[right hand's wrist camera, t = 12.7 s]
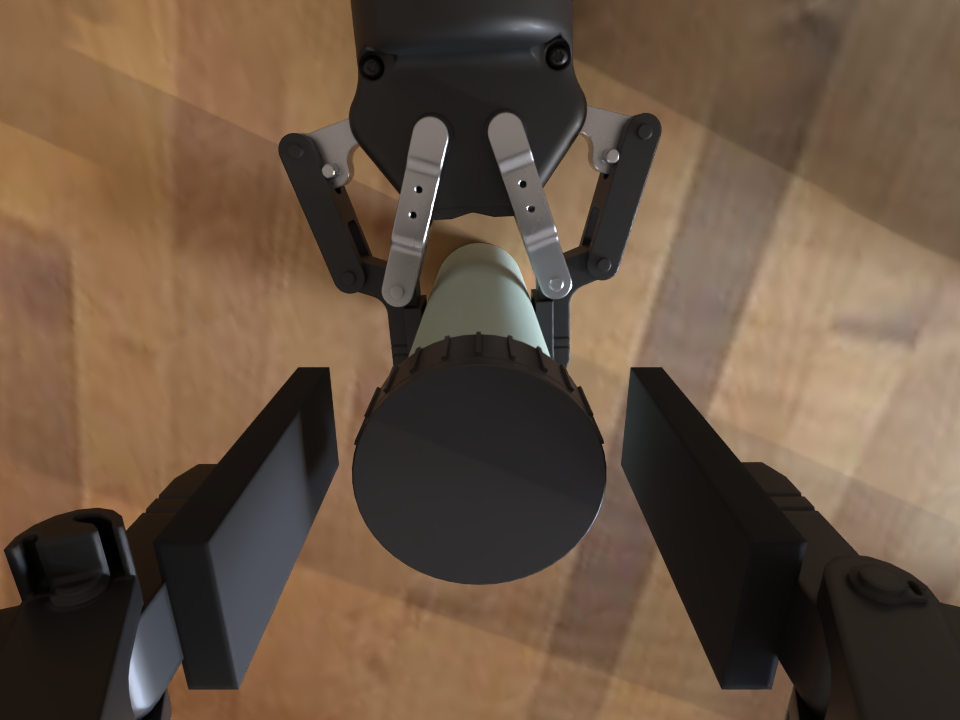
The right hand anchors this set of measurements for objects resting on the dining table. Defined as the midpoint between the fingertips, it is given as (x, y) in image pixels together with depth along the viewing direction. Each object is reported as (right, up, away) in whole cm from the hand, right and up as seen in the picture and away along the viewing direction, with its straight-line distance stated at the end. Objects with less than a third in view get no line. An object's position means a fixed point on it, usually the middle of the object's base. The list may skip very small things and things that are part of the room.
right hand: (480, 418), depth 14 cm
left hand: (0, +1, +10) cm, 10 cm away
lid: (0, -1, -2) cm, 2 cm away
